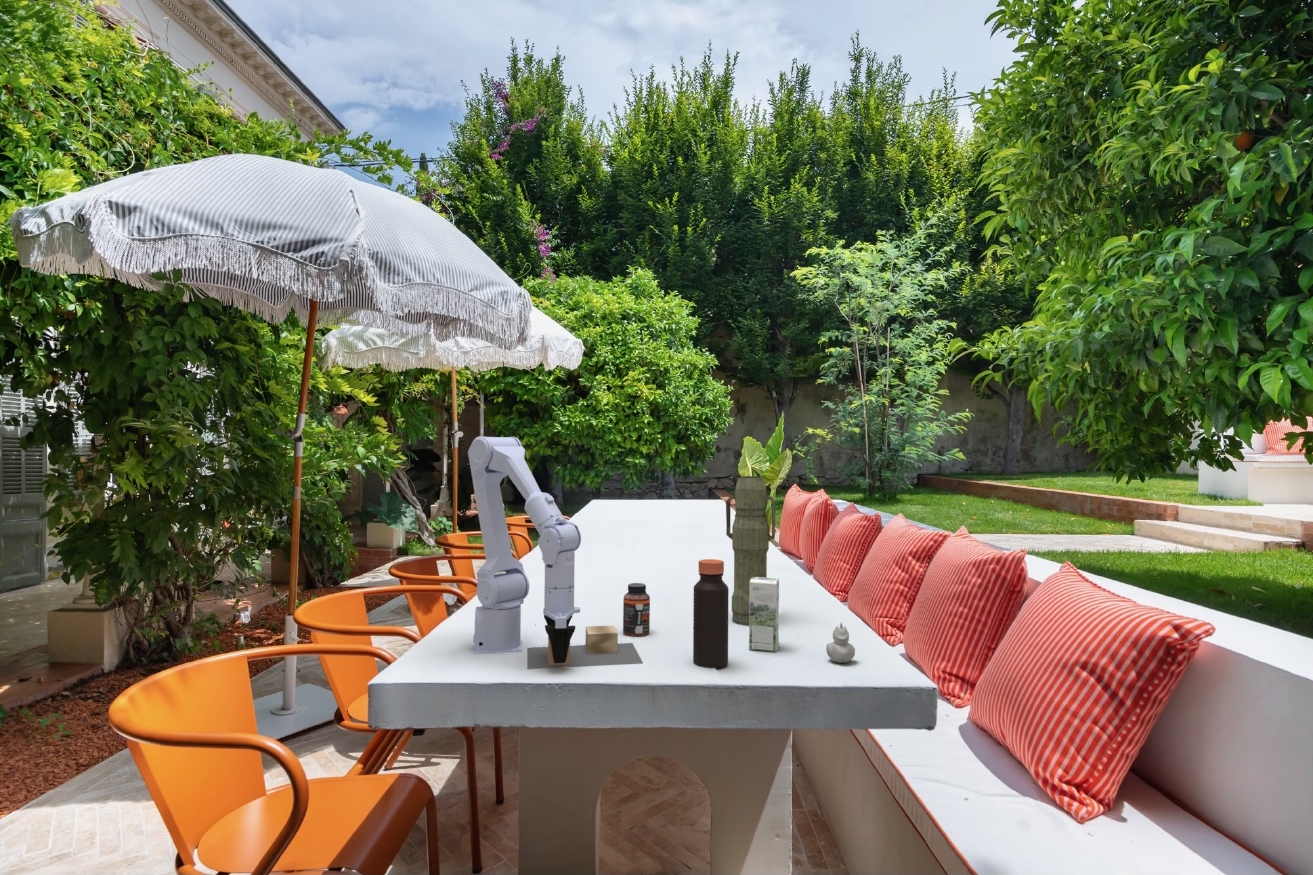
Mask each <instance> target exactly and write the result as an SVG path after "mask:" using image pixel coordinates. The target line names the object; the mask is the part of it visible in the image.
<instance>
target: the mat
mask: <svg viewBox="0 0 1313 875" xmlns="http://www.w3.org/2000/svg"><path fill="white" fill-rule="evenodd" d="M526 648H527V649H526V655H527V657H526V659H527V662H526V666H527V667H526V669H527V670H536V669H537V670H538V669H558V668H559V669H560V668H577V667H578V668H579V667H580V668H581V667H592V666H593V667H599V666H617V665H618V666H619V665H639V664H641V665H642V664H644V662H643V660H642V658H641V656H640V654H639V652H638V651H637V648H636V647H635V645H634V643H633V642H627V643H625V642H624V643H623V642H622V643H621V642H620V643H618V653H602V654H588V652H587V649H586V644H580V645H570V664H567V665H549V664H548V646H535V647H526Z"/></svg>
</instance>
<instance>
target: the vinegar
mask: <svg viewBox="0 0 1313 875" xmlns="http://www.w3.org/2000/svg"><path fill="white" fill-rule="evenodd" d="M724 566H725V562H724V560H721V559H715V558H714V559H713V558H710V559H700V560H698V575H699V580H698V581H697V582H696V583H695V584H694V586H693V611H692V612H693V628H692V629H693V630H692V632H693V635H692V648H693V649H692V650H693V651H692V652H693V653H692V656H693V658H692V661H693V665H695V666H697V667H700V668H707V669H716V670H717V669H718V670H720V669H723V668H726V667H727V666H728V664H729V586H728V584H727V583H725V581H724V580H723V576H724V572H725V567H724Z"/></svg>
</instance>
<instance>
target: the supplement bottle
mask: <svg viewBox="0 0 1313 875" xmlns="http://www.w3.org/2000/svg"><path fill="white" fill-rule="evenodd" d="M646 590H647V585H646V583H642V582H631V583H628V584H627V591H628V592H627V593H625V594H624V595H623V606H622V608H623V610H622V611H623V612H622V613H623V614H622V615H623V616H622V617H623V618H622V619H623V620H622V634H623V635H624V636H625V637H632V638H639V637H640V638H642V637H647V636H649V634H650V626H651V624H650V623H651V622H650V616H651V611H650V610H651V597H650V595H649V594H648V593H647V591H646Z"/></svg>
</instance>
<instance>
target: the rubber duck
mask: <svg viewBox="0 0 1313 875" xmlns="http://www.w3.org/2000/svg"><path fill="white" fill-rule="evenodd" d="M839 624H840V625H839V626H838V625H836V626H835V629H833V632H832V639H833V641H832V642H829V643H828V644H826V647H825V649H826V650H825V651H826V654H827V656H828V657H829V658H830V659H831V660H832V661H833V662H835V663H837V664H847V663H849V662H851V661H852V659H854V657H855V654H856V648H855V647H854V645H853V644H851V643H849V641H850V634H849V631H848V629H847V627H846V626H845V625H844V626H843V623H842V621H841V622H840V623H839Z"/></svg>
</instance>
